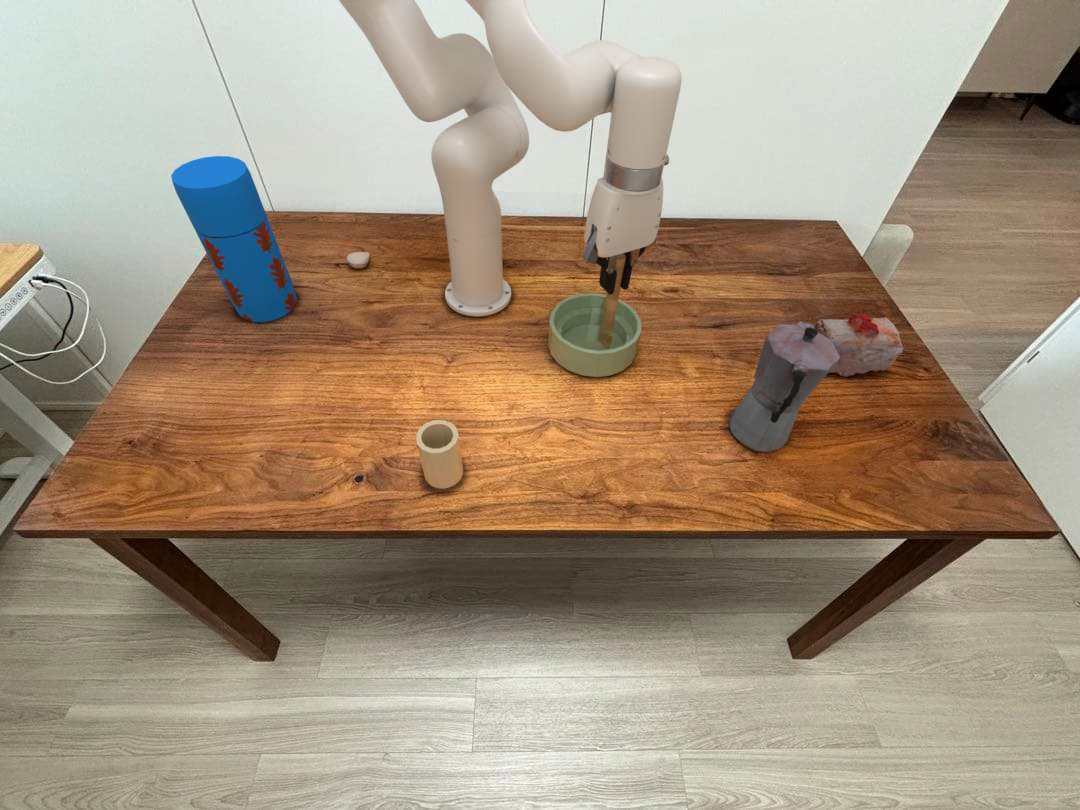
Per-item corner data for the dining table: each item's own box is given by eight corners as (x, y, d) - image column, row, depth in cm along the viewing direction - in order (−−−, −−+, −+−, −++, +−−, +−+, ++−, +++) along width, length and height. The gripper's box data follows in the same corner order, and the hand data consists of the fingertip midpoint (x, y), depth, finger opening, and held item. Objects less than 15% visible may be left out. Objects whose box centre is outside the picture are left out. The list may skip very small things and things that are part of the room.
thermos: (223, 313, 97) (152, 179, 78) (263, 280, 104) (208, 150, 85) (271, 329, 95) (211, 195, 76) (310, 295, 102) (263, 164, 83)
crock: (419, 467, 77) (409, 428, 70) (454, 453, 79) (449, 414, 72) (432, 496, 74) (424, 459, 67) (469, 481, 76) (465, 443, 69)
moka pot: (791, 406, 87) (849, 309, 72) (787, 481, 77) (854, 387, 62) (732, 390, 89) (776, 292, 74) (721, 462, 79) (770, 367, 64)
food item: (864, 346, 97) (893, 303, 90) (887, 378, 92) (920, 335, 85) (793, 350, 96) (816, 306, 88) (812, 382, 91) (839, 339, 83)
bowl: (533, 334, 96) (533, 308, 92) (604, 310, 102) (608, 284, 97) (576, 390, 88) (580, 364, 83) (652, 361, 93) (659, 335, 88)
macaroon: (344, 266, 108) (341, 255, 106) (362, 254, 111) (359, 244, 109) (360, 273, 106) (357, 262, 105) (377, 261, 109) (375, 250, 107)
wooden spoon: (595, 340, 93) (608, 252, 80) (604, 337, 93) (619, 249, 80) (603, 350, 91) (618, 262, 78) (613, 347, 92) (630, 259, 79)
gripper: (665, 148, 74) (641, 261, 88) (565, 169, 69) (557, 286, 83) (699, 171, 70) (669, 287, 84) (596, 196, 65) (582, 315, 79)
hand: (613, 286), depth 83 cm, fingers closed on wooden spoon, 2 cm apart
